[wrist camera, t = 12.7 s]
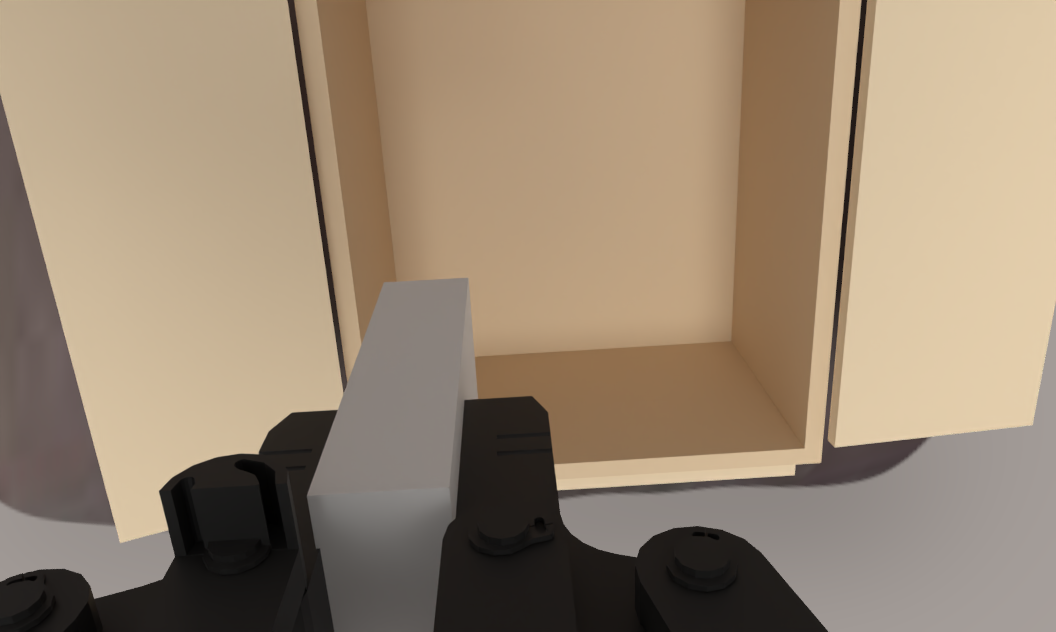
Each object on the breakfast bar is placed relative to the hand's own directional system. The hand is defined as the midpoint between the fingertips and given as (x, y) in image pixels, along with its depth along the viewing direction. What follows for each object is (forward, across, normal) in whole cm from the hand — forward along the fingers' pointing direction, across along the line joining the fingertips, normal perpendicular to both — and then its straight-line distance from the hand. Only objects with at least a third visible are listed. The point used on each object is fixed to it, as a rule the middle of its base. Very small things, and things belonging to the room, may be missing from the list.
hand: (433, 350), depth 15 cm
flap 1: (+10, -4, -1) cm, 11 cm away
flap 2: (+10, +11, -1) cm, 15 cm away
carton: (+21, +4, -1) cm, 21 cm away
